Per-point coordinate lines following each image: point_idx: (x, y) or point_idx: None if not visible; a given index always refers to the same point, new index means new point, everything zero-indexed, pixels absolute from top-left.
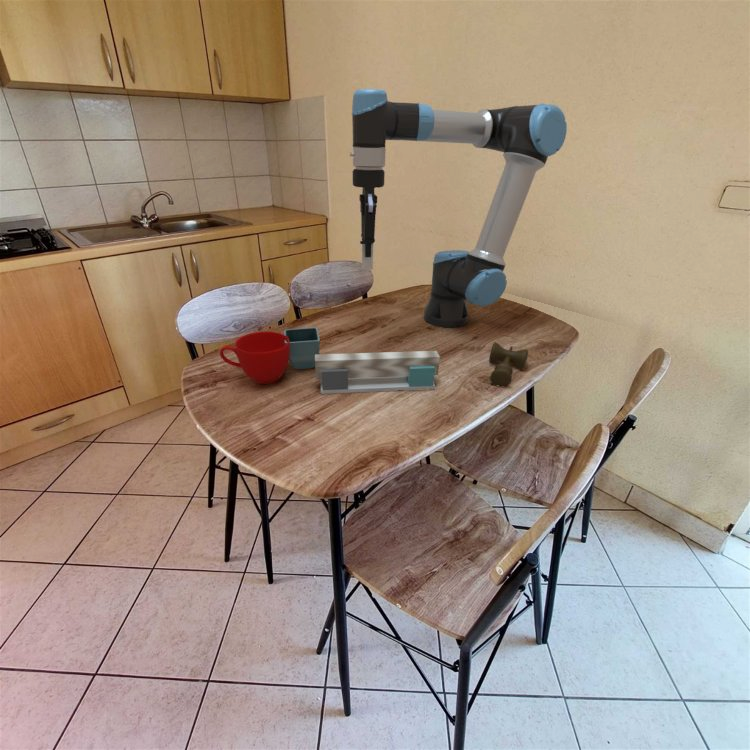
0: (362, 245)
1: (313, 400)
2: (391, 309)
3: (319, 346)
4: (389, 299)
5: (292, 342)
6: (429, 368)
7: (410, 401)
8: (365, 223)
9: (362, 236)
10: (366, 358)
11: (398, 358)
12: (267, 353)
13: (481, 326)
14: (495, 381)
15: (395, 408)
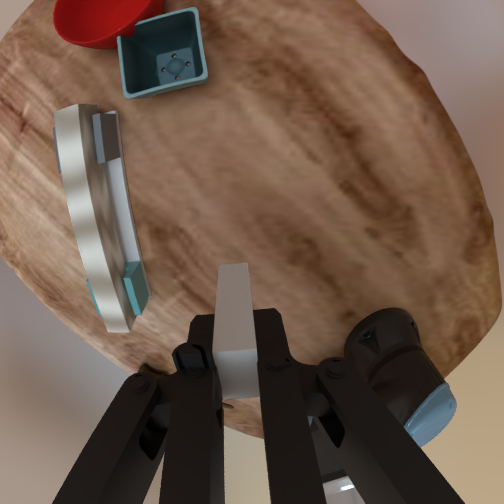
0: (214, 343)
1: None
2: (443, 253)
3: (135, 98)
4: (479, 252)
5: (117, 43)
6: (96, 308)
7: (75, 260)
8: (64, 488)
9: (272, 381)
10: (72, 210)
11: (85, 268)
12: (55, 25)
13: None
14: (139, 369)
15: (56, 239)
